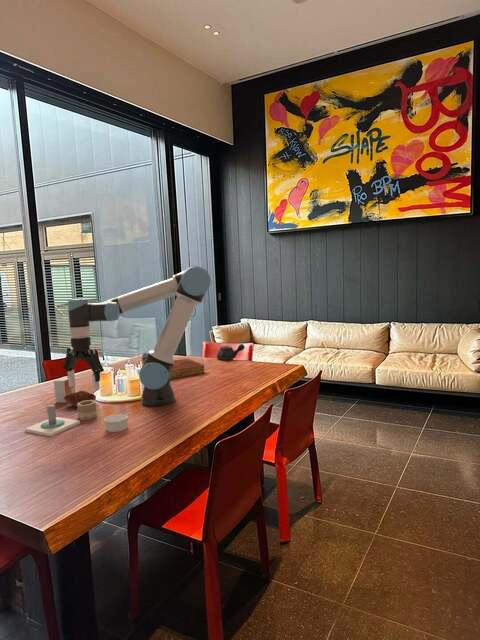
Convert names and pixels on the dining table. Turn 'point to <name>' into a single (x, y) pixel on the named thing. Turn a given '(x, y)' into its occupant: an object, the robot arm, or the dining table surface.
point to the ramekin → (116, 422)
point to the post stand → (52, 424)
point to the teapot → (228, 352)
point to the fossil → (78, 397)
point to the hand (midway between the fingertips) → (84, 387)
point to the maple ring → (86, 409)
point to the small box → (62, 389)
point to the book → (185, 368)
